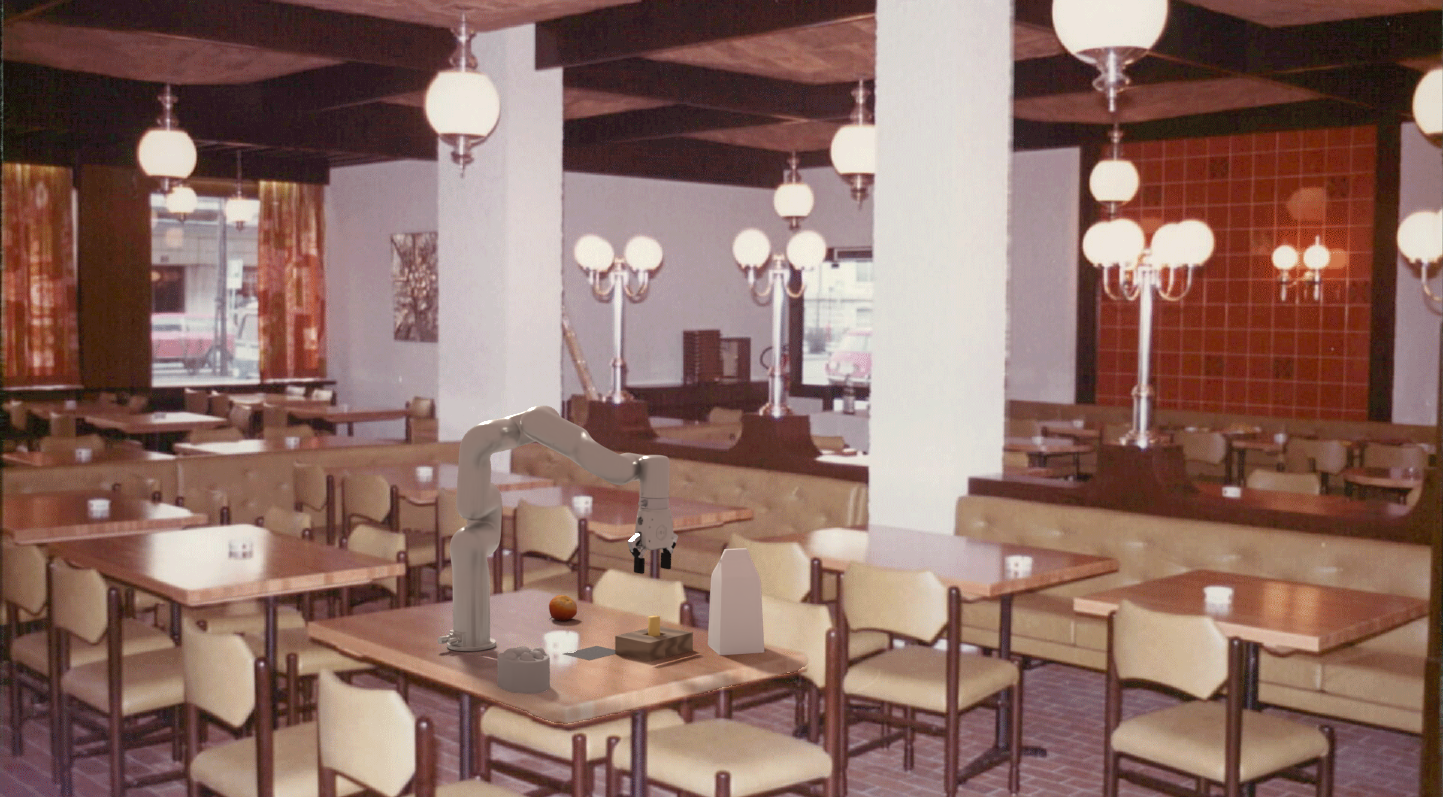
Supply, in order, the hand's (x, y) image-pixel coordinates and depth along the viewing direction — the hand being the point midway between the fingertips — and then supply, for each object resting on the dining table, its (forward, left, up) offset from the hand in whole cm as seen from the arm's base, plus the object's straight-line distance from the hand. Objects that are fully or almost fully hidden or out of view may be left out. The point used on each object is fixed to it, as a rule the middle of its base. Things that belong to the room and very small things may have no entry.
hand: (652, 570), depth 333 cm
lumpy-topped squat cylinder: (-42, -1, -22) cm, 48 cm away
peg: (0, 0, -21) cm, 21 cm away
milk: (+18, -12, -22) cm, 31 cm away
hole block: (0, 0, -21) cm, 21 cm away
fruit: (+12, +48, -22) cm, 54 cm away
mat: (-11, +11, -21) cm, 26 cm away
